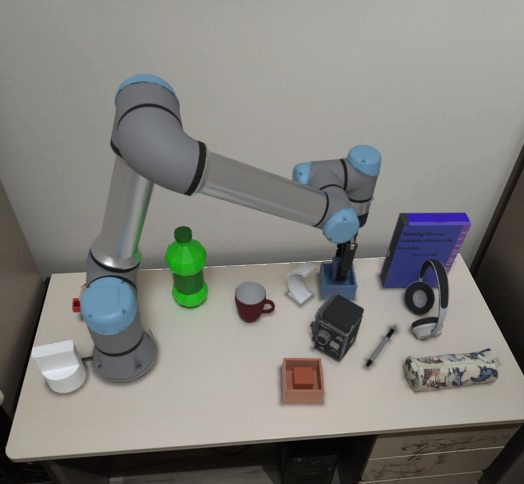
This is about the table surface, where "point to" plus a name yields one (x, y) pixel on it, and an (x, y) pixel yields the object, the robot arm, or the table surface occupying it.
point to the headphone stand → (299, 282)
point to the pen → (381, 346)
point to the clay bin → (302, 394)
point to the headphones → (428, 301)
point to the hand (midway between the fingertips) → (339, 273)
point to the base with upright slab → (60, 365)
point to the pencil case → (451, 370)
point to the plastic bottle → (187, 268)
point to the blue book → (422, 246)
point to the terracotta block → (302, 378)
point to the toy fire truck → (78, 300)
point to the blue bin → (336, 283)
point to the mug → (252, 301)
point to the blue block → (334, 268)
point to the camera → (336, 326)
